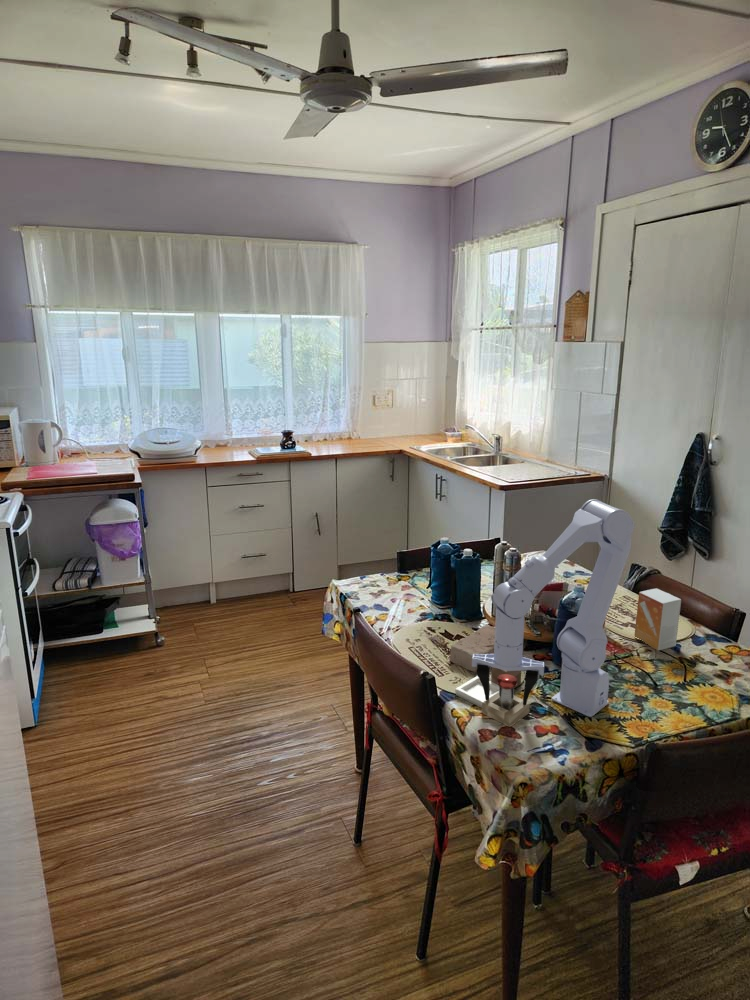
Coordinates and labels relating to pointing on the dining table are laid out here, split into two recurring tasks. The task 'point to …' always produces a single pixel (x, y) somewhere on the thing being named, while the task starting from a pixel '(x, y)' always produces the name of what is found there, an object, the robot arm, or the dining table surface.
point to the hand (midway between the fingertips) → (505, 699)
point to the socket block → (503, 715)
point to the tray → (475, 691)
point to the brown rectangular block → (496, 672)
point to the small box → (657, 618)
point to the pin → (506, 690)
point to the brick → (473, 647)
